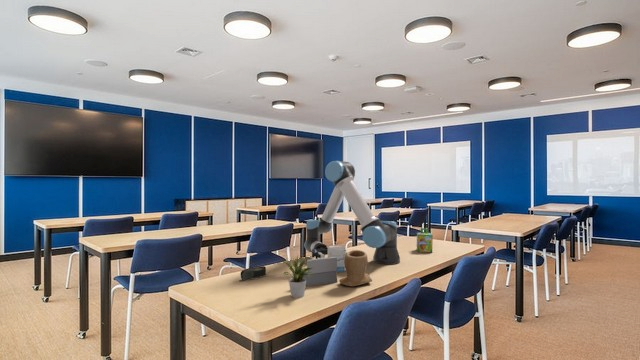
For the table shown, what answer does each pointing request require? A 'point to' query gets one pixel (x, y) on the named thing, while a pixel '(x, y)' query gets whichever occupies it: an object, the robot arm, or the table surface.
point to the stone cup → (355, 269)
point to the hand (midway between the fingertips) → (335, 256)
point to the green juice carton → (424, 241)
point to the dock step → (321, 271)
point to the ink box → (338, 256)
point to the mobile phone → (253, 273)
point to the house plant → (297, 278)
